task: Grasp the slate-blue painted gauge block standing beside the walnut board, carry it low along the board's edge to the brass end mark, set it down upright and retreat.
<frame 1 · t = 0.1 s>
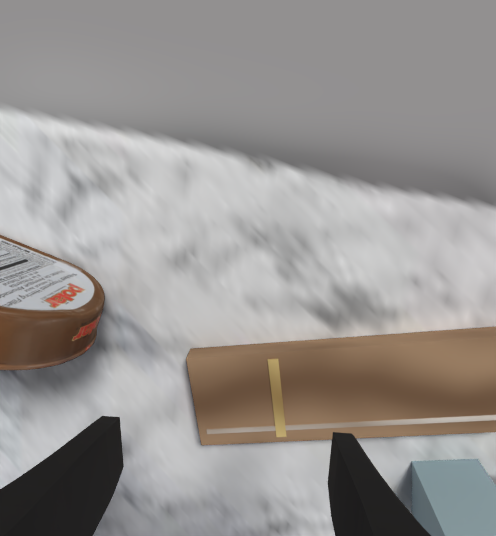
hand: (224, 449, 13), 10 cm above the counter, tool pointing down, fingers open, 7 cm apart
walnut board: (343, 382, 23), on the counter
gauge block: (443, 485, 24), on the counter
tin: (9, 252, 22), on the counter
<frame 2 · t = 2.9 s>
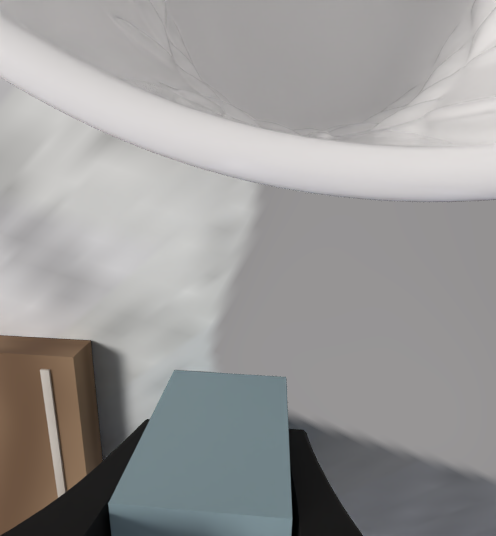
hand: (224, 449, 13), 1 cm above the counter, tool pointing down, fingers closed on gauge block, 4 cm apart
walnut board: (41, 529, 16), on the counter
gauge block: (229, 421, 14), on the counter, touching gripper
white cup: (305, 23, 10), on the counter
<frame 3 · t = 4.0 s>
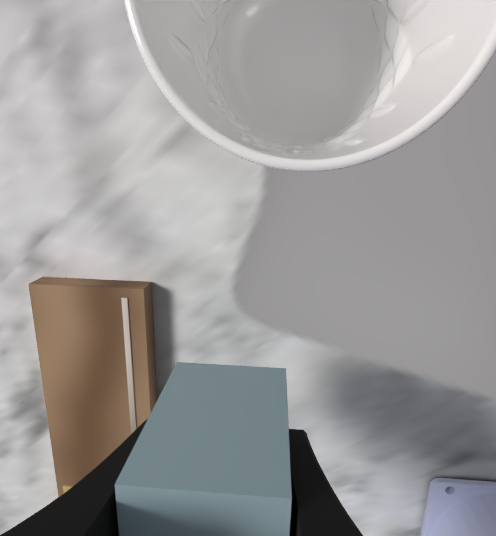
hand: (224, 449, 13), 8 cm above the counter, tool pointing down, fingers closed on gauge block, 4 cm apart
walnut board: (109, 422, 23), on the counter
gauge block: (230, 412, 14), point 6 cm above the counter, touching gripper
white cup: (294, 77, 17), on the counter
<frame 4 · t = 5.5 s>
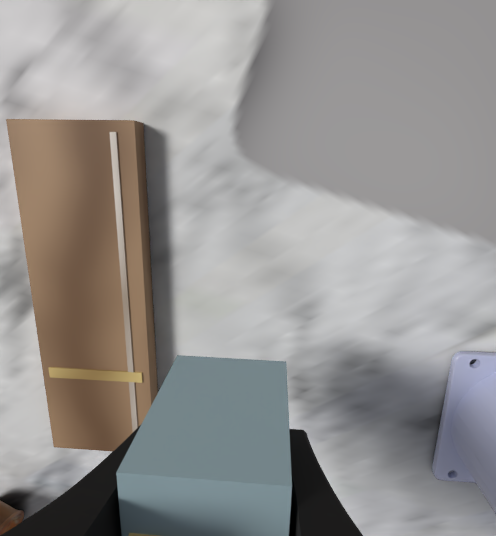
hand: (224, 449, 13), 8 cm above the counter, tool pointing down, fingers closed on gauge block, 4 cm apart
walnut board: (99, 297, 21), on the counter
gauge block: (230, 405, 14), point 6 cm above the counter, touching gripper
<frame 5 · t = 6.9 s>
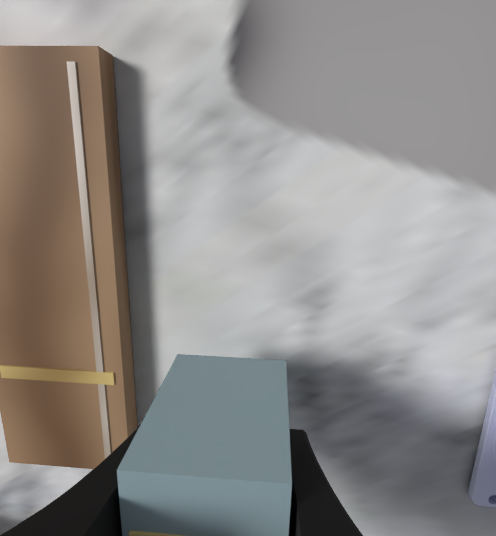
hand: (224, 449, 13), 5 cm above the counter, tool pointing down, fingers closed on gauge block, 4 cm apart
walnut board: (62, 280, 17), on the counter
gauge block: (230, 404, 14), point 3 cm above the counter, touching gripper
when the fingers open (2 cm above the counter, at t = 8.3 s): gauge block stays where it is, on the counter.
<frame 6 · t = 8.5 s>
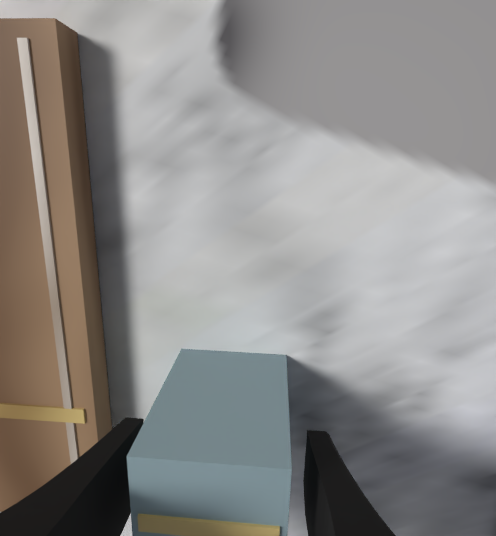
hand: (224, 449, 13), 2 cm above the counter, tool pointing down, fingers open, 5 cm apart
walnut board: (24, 300, 14), on the counter
gauge block: (232, 397, 15), on the counter
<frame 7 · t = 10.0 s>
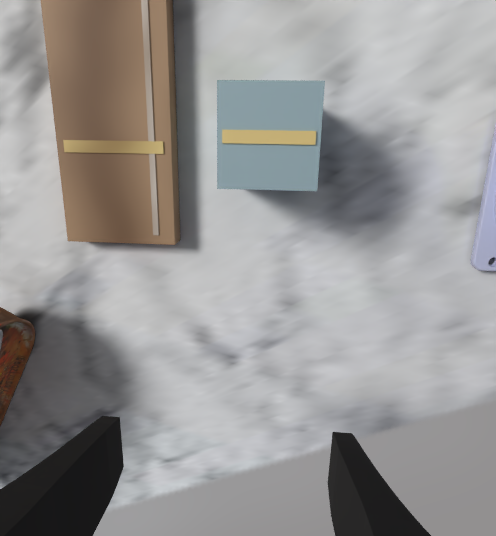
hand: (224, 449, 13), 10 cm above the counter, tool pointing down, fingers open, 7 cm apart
walnut board: (117, 66, 19), on the counter
gauge block: (271, 144, 20), on the counter
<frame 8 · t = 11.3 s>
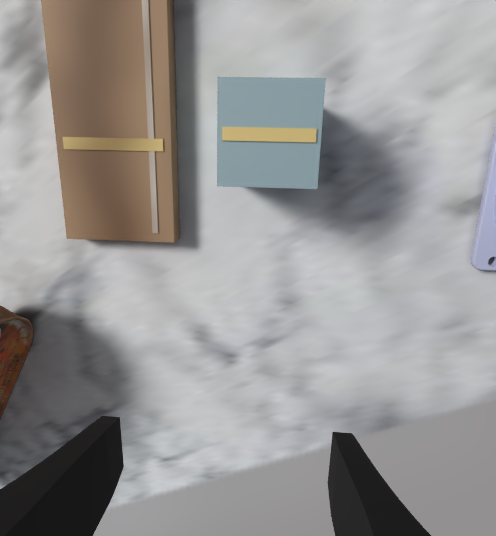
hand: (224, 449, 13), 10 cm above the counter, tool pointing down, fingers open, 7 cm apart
walnut board: (117, 63, 19), on the counter
gauge block: (271, 142, 20), on the counter
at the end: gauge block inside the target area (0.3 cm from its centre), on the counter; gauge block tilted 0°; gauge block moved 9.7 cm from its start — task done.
